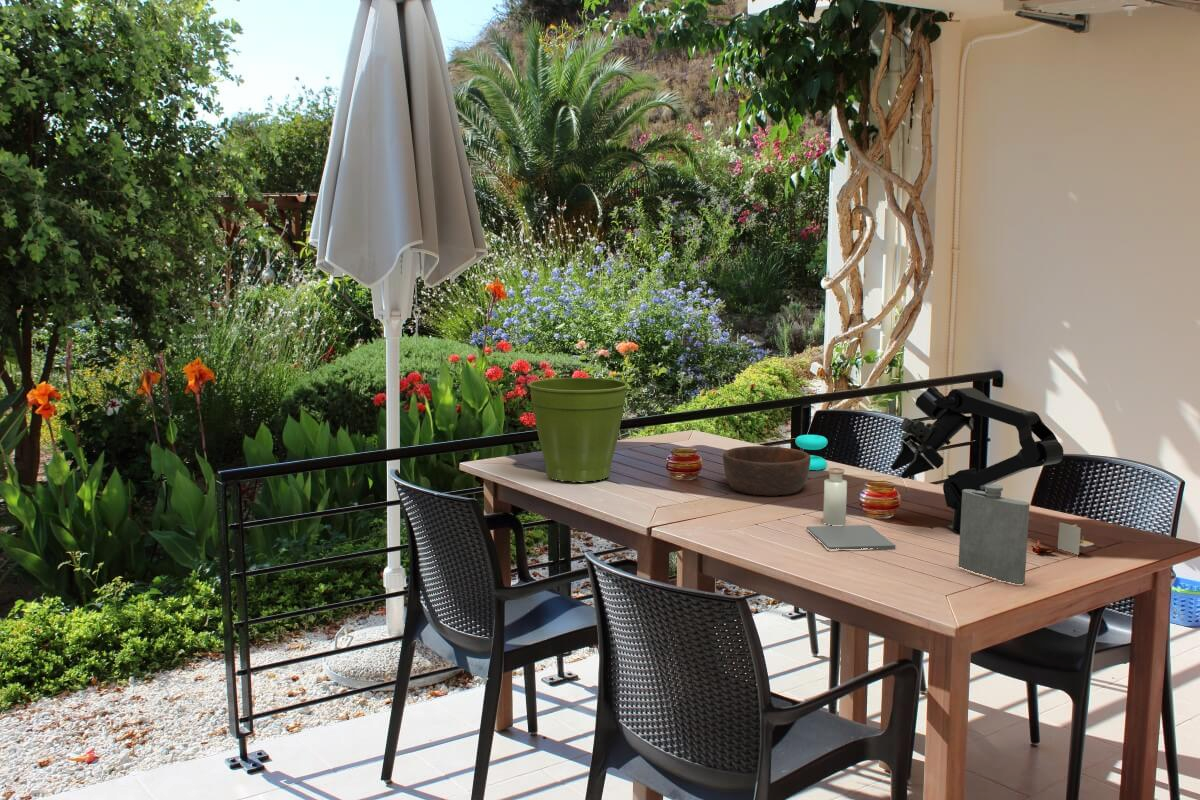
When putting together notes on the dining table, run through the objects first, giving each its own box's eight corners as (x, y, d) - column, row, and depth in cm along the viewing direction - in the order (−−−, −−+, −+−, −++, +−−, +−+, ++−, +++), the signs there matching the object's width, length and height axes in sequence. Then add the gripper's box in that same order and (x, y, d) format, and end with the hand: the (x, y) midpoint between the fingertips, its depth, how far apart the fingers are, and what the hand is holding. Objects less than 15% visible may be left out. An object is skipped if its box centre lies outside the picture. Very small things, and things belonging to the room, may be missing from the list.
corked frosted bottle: (848, 525, 273) (850, 471, 271) (826, 526, 272) (828, 472, 270) (841, 520, 278) (843, 466, 276) (820, 520, 278) (821, 467, 276)
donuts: (834, 437, 339) (814, 441, 332) (833, 468, 340) (813, 472, 333) (808, 432, 346) (788, 436, 339) (807, 463, 347) (788, 467, 341)
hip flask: (1027, 584, 228) (1033, 491, 224) (1015, 587, 225) (1021, 494, 222) (964, 565, 241) (969, 477, 237) (952, 568, 238) (957, 479, 235)
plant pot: (601, 492, 308) (601, 393, 303) (511, 482, 321) (510, 386, 316) (643, 472, 334) (643, 380, 330) (558, 463, 347) (557, 374, 343)
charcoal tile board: (895, 549, 252) (895, 545, 252) (828, 551, 251) (828, 547, 251) (869, 528, 270) (869, 524, 270) (806, 530, 268) (806, 526, 268)
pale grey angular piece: (1066, 551, 253) (1068, 520, 252) (1092, 558, 247) (1094, 527, 246) (1056, 553, 251) (1058, 522, 250) (1082, 561, 245) (1084, 529, 244)
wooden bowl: (713, 495, 305) (714, 459, 304) (732, 476, 329) (732, 443, 327) (802, 502, 297) (803, 465, 296) (815, 482, 321) (816, 448, 319)
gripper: (910, 401, 278) (865, 443, 279) (932, 413, 259) (884, 458, 261) (939, 431, 279) (894, 473, 280) (963, 445, 260) (915, 490, 262)
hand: (896, 473), depth 271 cm, fingers open, 9 cm apart
